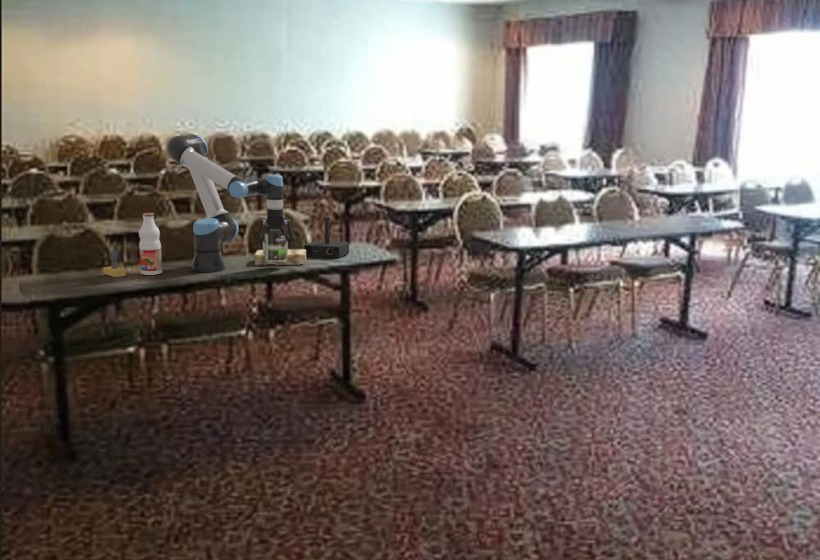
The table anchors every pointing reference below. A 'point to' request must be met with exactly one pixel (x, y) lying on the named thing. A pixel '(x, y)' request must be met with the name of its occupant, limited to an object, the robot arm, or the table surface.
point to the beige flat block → (292, 259)
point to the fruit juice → (150, 246)
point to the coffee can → (275, 245)
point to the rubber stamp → (114, 266)
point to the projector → (327, 246)
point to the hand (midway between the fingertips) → (275, 255)
